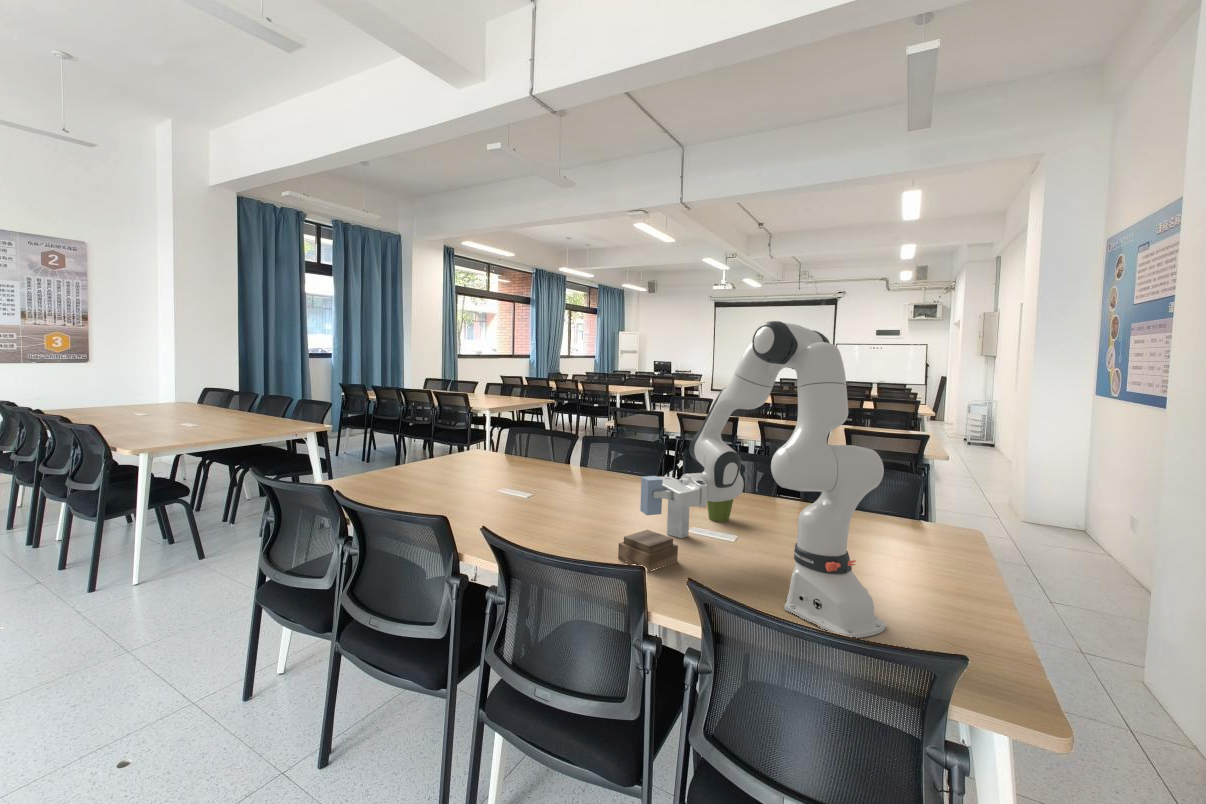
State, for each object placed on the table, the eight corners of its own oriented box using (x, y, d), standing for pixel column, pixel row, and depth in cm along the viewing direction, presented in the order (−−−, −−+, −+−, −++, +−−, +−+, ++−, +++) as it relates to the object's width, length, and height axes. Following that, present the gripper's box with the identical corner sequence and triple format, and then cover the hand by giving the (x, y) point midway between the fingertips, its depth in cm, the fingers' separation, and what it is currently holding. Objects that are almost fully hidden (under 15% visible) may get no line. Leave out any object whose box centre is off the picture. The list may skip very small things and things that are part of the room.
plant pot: (695, 518, 198) (696, 488, 197) (715, 512, 206) (716, 483, 205) (722, 526, 190) (724, 494, 189) (742, 520, 198) (743, 489, 197)
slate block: (661, 514, 155) (662, 479, 154) (647, 515, 153) (648, 480, 152) (654, 509, 159) (655, 475, 158) (640, 510, 157) (641, 476, 156)
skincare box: (688, 535, 179) (690, 500, 178) (681, 538, 176) (682, 502, 175) (673, 531, 183) (675, 496, 182) (666, 534, 180) (667, 498, 179)
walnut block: (677, 562, 157) (678, 538, 156) (649, 573, 148) (649, 548, 148) (646, 550, 165) (647, 528, 165) (618, 560, 157) (618, 536, 157)
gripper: (674, 470, 169) (634, 472, 164) (710, 486, 150) (665, 489, 145) (673, 490, 170) (633, 493, 165) (709, 508, 151) (664, 512, 146)
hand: (648, 491), depth 155 cm, fingers closed on slate block, 4 cm apart
